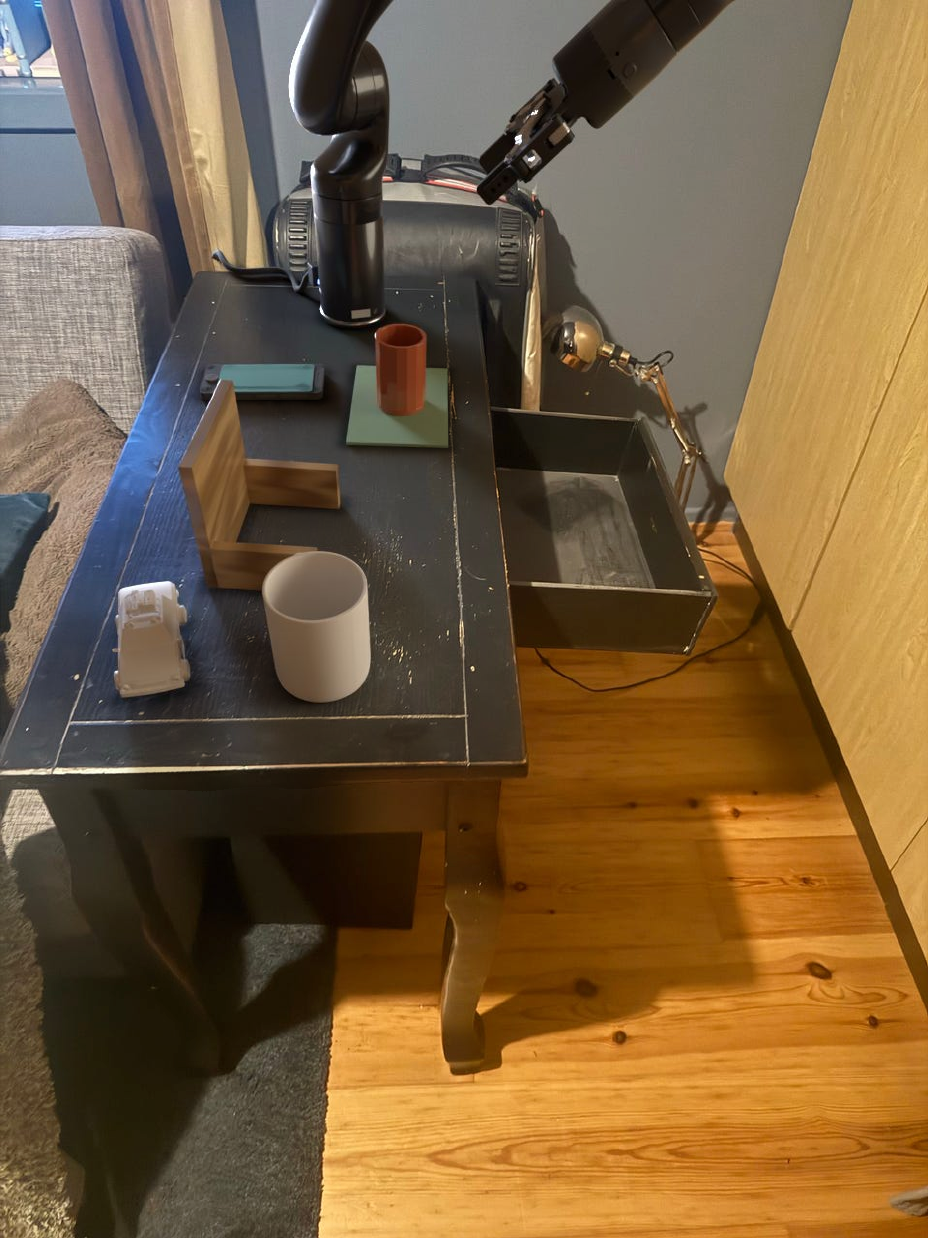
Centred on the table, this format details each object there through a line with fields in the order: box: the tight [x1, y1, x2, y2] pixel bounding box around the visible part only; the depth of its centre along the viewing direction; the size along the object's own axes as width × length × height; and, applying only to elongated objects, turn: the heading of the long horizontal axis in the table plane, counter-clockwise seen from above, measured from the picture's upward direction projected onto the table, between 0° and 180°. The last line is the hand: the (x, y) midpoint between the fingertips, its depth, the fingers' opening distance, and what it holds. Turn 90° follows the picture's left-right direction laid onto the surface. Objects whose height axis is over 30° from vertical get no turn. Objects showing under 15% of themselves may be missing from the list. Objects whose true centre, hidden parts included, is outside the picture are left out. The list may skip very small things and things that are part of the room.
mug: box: [261, 550, 372, 704], centre depth 70 cm, size 12×8×10 cm
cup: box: [374, 323, 427, 416], centre depth 100 cm, size 6×6×9 cm
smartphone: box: [199, 363, 325, 401], centre depth 104 cm, size 7×1×15 cm
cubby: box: [178, 380, 341, 592], centre depth 79 cm, size 11×14×14 cm
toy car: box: [111, 581, 191, 698], centre depth 70 cm, size 6×12×7 cm, turn 16°
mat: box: [345, 364, 449, 449], centre depth 103 cm, size 18×12×1 cm, turn 1°
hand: (482, 182), depth 84 cm, fingers open, 8 cm apart
